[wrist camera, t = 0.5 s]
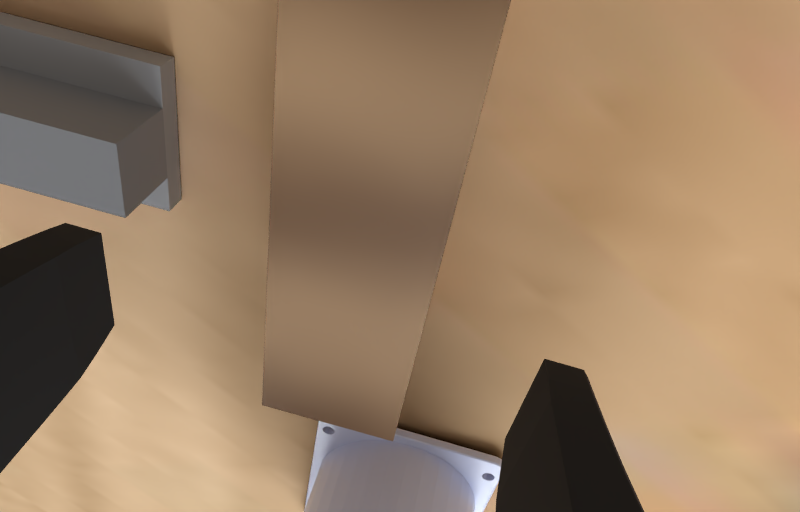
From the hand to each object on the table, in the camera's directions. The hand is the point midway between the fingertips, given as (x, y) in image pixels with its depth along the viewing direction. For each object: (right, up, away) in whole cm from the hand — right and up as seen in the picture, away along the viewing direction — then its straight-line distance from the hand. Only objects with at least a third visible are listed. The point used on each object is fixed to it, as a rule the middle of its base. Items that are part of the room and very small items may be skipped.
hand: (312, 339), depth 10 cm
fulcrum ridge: (-11, +7, +10) cm, 16 cm away
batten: (+1, +5, +8) cm, 10 cm away
